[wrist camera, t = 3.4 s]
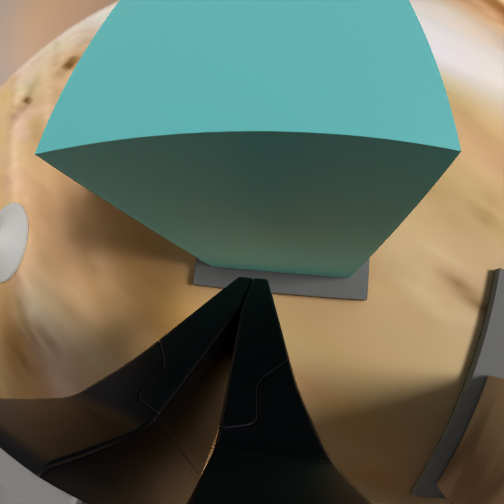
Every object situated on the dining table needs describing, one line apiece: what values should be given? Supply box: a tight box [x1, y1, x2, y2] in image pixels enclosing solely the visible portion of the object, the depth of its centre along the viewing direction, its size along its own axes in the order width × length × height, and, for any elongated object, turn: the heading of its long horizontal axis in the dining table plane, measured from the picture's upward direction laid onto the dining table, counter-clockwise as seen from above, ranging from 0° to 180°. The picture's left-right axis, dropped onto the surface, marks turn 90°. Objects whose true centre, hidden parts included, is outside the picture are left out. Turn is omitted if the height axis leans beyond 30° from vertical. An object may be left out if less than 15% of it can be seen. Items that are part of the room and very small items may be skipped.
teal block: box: [35, 0, 461, 278], centre depth 10 cm, size 7×7×12 cm
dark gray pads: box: [193, 258, 504, 498], centre depth 13 cm, size 18×44×1 cm, turn 39°
